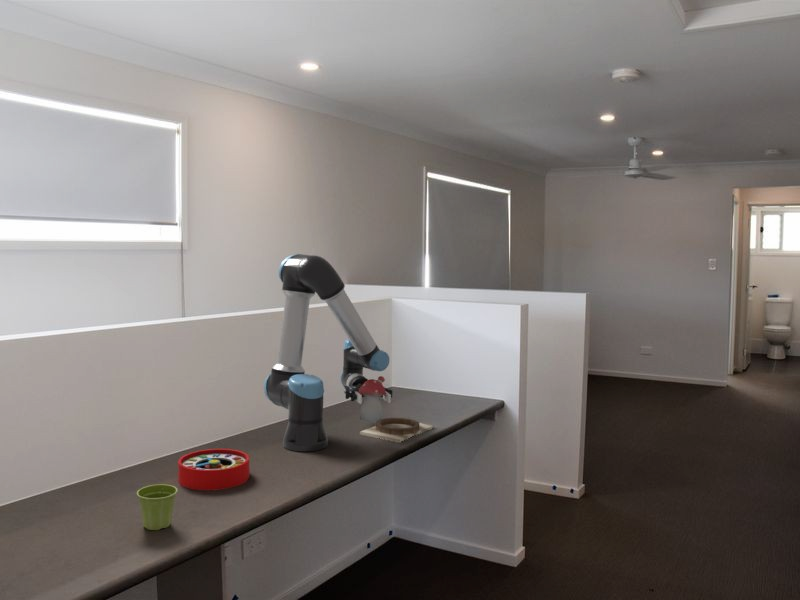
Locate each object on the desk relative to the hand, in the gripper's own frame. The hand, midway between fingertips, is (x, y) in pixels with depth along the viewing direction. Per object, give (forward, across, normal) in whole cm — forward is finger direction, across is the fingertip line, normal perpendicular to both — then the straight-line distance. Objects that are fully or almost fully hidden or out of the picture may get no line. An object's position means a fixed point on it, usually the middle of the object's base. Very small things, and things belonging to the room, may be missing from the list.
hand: (375, 399), depth 235 cm
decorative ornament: (-4, 0, -8) cm, 9 cm away
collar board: (-19, -14, -17) cm, 29 cm away
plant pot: (+48, +68, -19) cm, 85 cm away
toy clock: (+17, +53, -18) cm, 58 cm away
